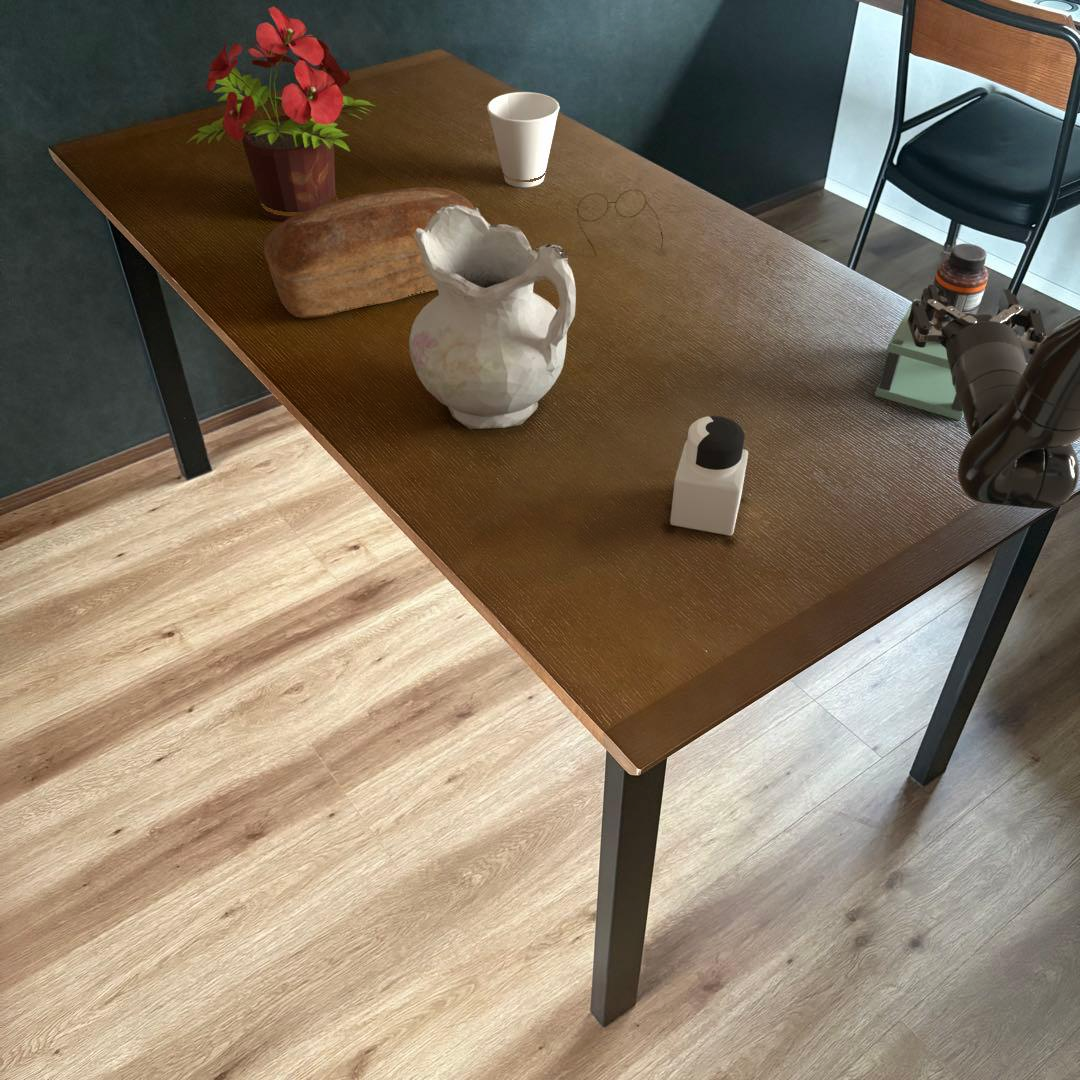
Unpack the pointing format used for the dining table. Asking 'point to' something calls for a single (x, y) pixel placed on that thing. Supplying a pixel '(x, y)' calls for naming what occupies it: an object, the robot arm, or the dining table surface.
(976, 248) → the supplement bottle
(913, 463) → the dining table surface
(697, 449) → the medicine bottle
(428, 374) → the ceramic pitcher
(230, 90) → the potted plant
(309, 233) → the bread
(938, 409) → the shelf rack
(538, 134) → the cup
